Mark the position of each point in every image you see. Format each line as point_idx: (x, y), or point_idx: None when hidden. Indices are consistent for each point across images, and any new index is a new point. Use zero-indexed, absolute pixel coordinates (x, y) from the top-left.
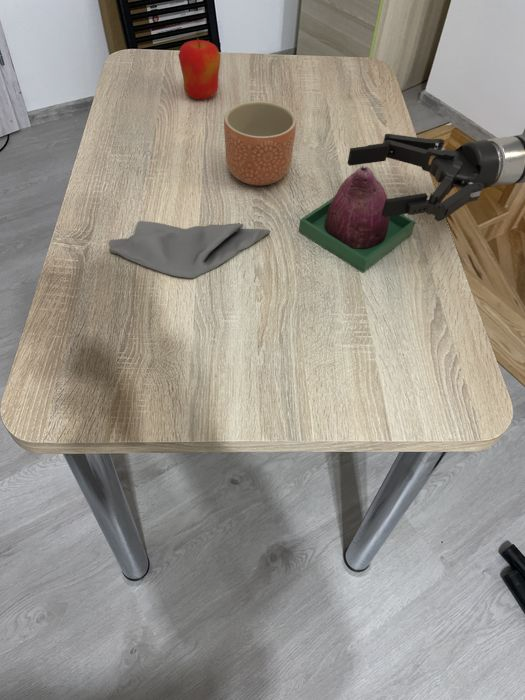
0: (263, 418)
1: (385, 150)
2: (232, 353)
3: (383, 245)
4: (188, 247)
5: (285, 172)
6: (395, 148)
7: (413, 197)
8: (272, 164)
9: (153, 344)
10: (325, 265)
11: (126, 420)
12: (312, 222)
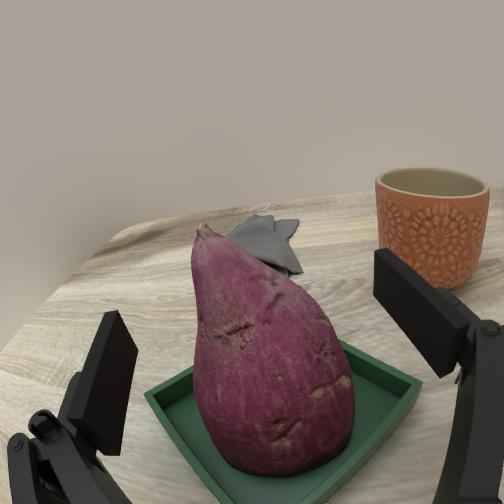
0: (54, 302)
1: (444, 336)
2: (111, 286)
3: (173, 435)
4: (250, 243)
5: None
6: (472, 365)
7: (83, 372)
8: (389, 241)
9: (147, 251)
10: (193, 362)
11: (102, 253)
12: None
